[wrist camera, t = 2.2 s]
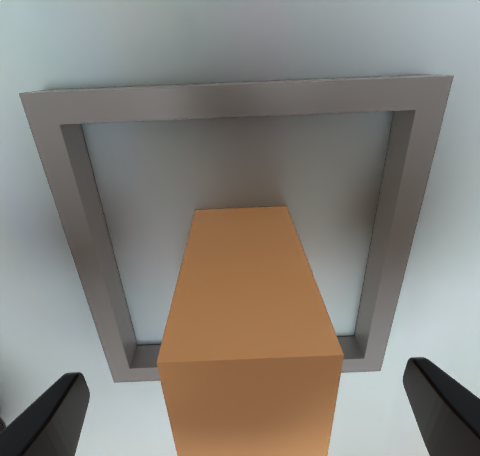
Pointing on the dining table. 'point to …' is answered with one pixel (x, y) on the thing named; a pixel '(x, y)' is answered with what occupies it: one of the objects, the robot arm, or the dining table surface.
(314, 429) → the plug block
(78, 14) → the dining table surface
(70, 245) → the gray square frame
